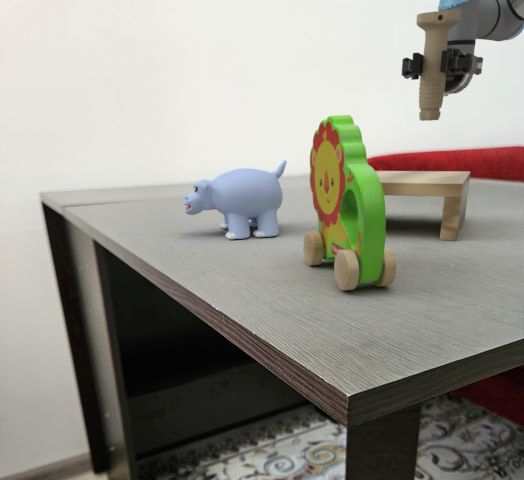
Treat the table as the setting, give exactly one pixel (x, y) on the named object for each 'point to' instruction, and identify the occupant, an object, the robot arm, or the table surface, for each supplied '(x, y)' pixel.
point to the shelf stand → (433, 193)
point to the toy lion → (347, 208)
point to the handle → (434, 60)
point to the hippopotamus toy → (241, 200)
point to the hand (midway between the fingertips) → (429, 61)
